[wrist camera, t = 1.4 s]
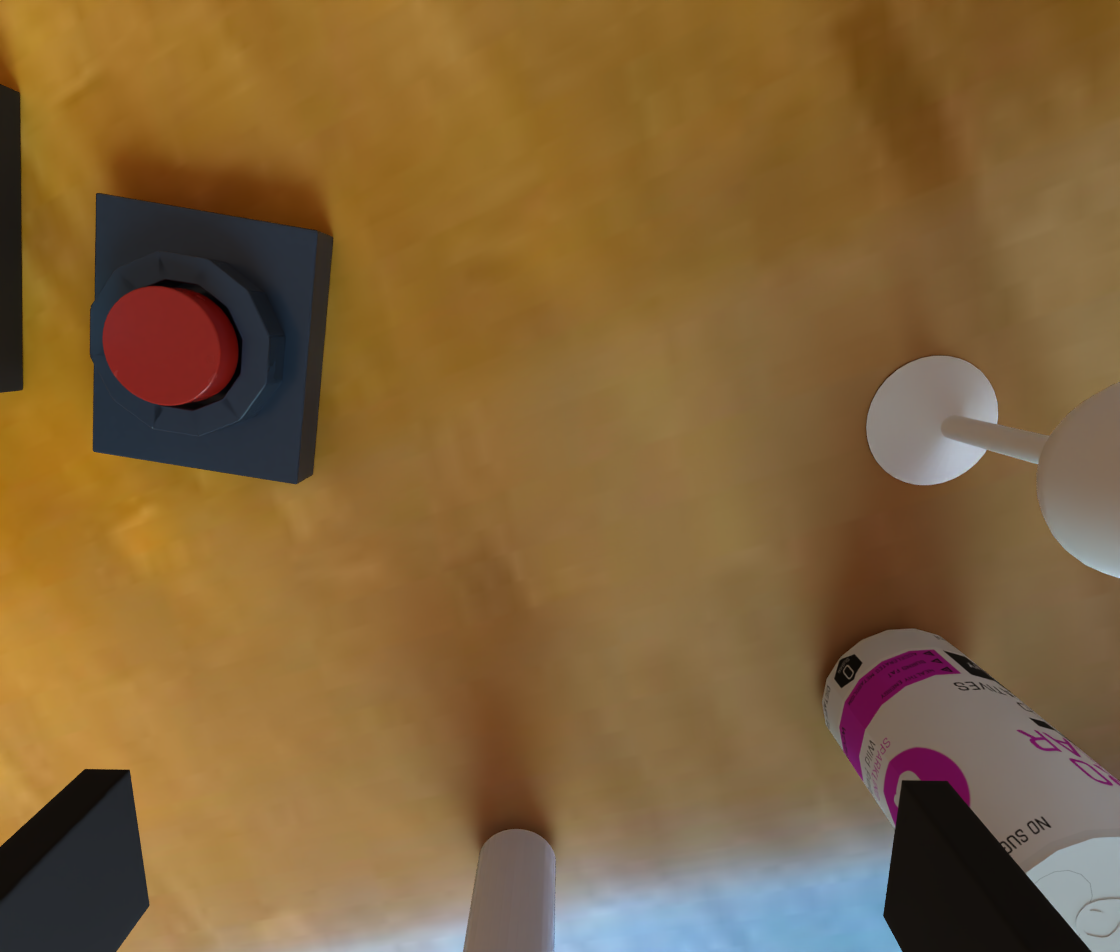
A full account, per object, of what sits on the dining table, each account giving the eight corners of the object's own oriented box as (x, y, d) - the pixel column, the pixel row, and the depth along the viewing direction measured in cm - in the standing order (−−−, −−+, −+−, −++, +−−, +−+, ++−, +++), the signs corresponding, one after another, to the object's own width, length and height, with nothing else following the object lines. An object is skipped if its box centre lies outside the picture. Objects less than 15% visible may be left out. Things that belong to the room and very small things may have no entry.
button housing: (126, 201, 32) (65, 183, 28) (334, 236, 32) (302, 224, 28) (121, 444, 35) (64, 459, 31) (313, 475, 35) (281, 493, 31)
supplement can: (805, 748, 38) (955, 1010, 24) (833, 614, 36) (1014, 807, 22) (945, 762, 38) (1181, 1031, 24) (980, 629, 36) (1258, 831, 22)
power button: (129, 279, 29) (102, 276, 28) (243, 298, 30) (223, 296, 28) (126, 391, 30) (100, 395, 29) (236, 409, 31) (216, 414, 29)
